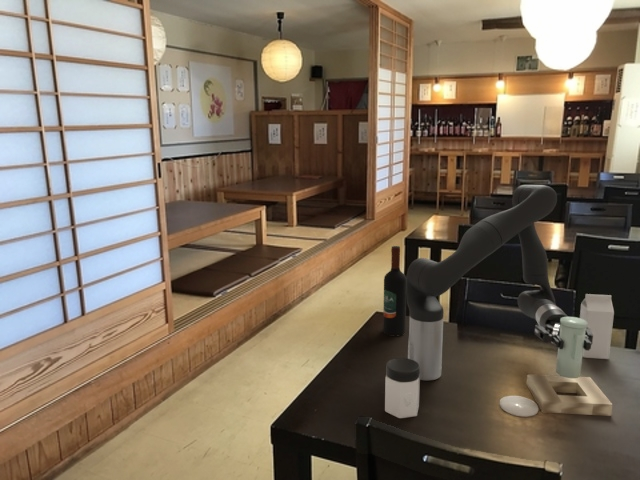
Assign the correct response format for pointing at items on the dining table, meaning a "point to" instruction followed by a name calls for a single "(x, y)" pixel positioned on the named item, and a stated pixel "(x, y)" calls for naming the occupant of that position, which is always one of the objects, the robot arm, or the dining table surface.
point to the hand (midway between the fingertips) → (575, 346)
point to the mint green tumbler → (571, 347)
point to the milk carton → (598, 324)
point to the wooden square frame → (584, 403)
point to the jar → (402, 387)
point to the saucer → (519, 406)
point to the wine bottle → (394, 297)
